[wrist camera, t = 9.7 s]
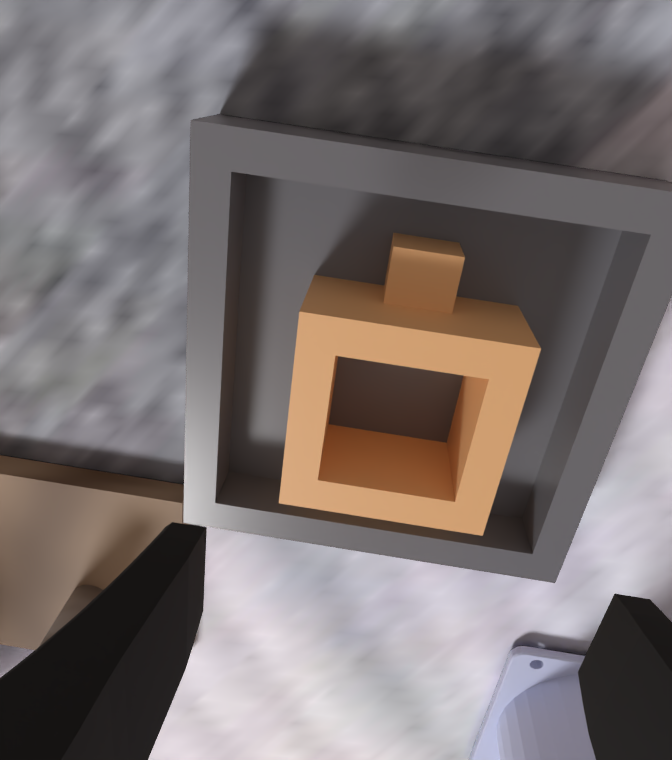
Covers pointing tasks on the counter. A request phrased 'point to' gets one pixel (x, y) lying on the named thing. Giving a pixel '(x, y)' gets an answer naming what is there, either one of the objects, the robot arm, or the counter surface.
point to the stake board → (70, 540)
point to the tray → (399, 383)
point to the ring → (417, 350)
